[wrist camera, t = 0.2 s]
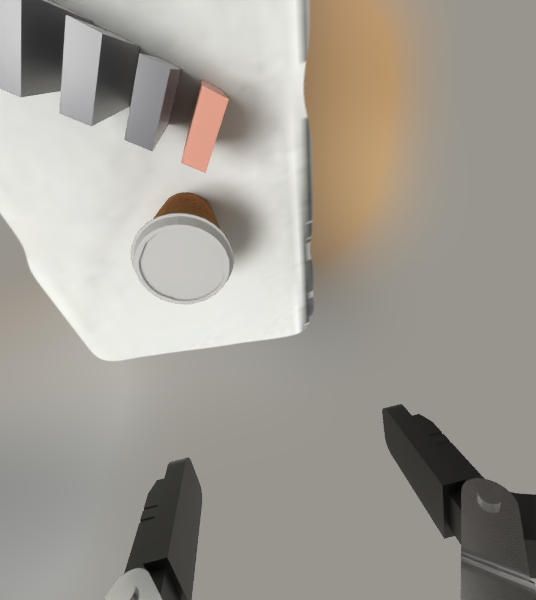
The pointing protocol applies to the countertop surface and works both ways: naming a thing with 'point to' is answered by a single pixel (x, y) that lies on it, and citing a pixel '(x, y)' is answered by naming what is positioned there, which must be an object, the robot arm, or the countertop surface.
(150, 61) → the domino
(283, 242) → the countertop surface
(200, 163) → the domino
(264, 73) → the countertop surface
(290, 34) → the countertop surface
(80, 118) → the domino
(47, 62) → the domino
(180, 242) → the disposable coffee cup
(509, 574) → the robot arm
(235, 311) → the countertop surface
